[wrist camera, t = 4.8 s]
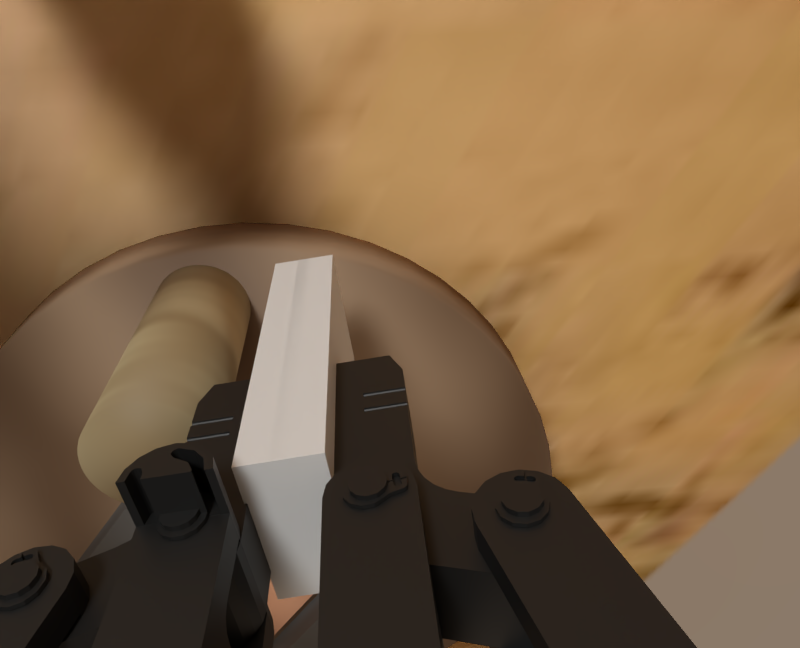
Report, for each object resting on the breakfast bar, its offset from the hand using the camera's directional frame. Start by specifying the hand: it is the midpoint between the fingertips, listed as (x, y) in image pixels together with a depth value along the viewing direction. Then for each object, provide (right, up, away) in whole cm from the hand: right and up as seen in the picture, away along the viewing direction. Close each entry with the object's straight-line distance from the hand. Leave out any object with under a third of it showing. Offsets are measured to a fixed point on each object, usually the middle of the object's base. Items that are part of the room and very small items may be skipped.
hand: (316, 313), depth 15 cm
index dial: (-2, -5, +7) cm, 9 cm away
